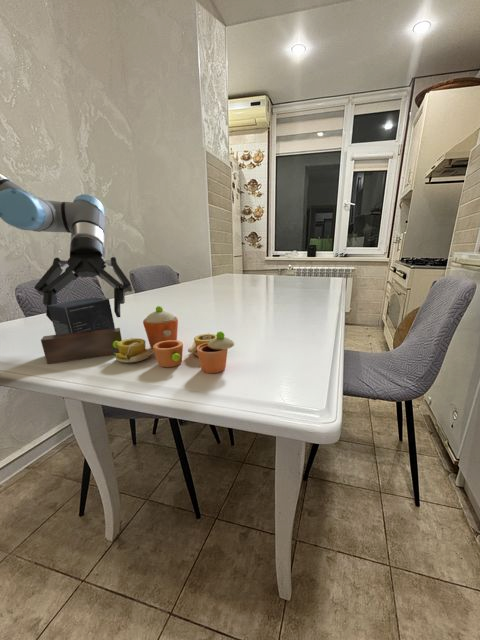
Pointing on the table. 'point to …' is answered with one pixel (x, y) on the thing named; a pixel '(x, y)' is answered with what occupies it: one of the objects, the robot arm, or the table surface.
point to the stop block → (80, 345)
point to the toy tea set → (174, 344)
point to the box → (81, 315)
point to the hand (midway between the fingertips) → (85, 316)
